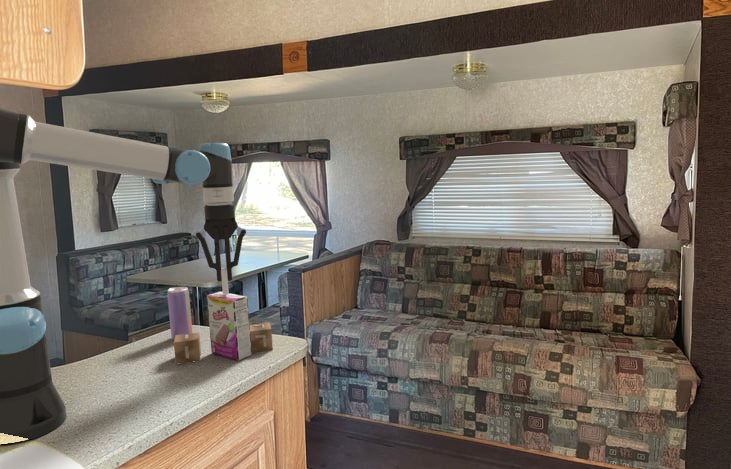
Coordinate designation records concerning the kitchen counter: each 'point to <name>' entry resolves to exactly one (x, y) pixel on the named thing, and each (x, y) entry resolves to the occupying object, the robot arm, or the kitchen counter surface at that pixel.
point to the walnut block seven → (261, 337)
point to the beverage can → (179, 311)
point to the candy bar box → (229, 325)
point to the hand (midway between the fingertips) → (225, 292)
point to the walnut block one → (187, 348)
